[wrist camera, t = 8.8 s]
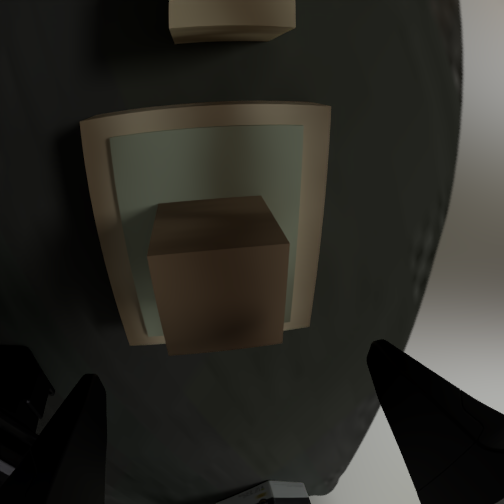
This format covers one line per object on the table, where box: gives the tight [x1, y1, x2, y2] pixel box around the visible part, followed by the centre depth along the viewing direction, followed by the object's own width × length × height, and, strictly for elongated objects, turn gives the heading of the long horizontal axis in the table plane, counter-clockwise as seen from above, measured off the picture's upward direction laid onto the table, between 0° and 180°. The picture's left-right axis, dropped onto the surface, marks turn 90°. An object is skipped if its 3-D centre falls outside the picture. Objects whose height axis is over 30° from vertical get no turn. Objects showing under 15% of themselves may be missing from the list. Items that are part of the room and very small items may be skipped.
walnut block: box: [147, 196, 290, 356], centre depth 14 cm, size 5×5×5 cm
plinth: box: [80, 101, 331, 346], centre depth 18 cm, size 12×14×3 cm
